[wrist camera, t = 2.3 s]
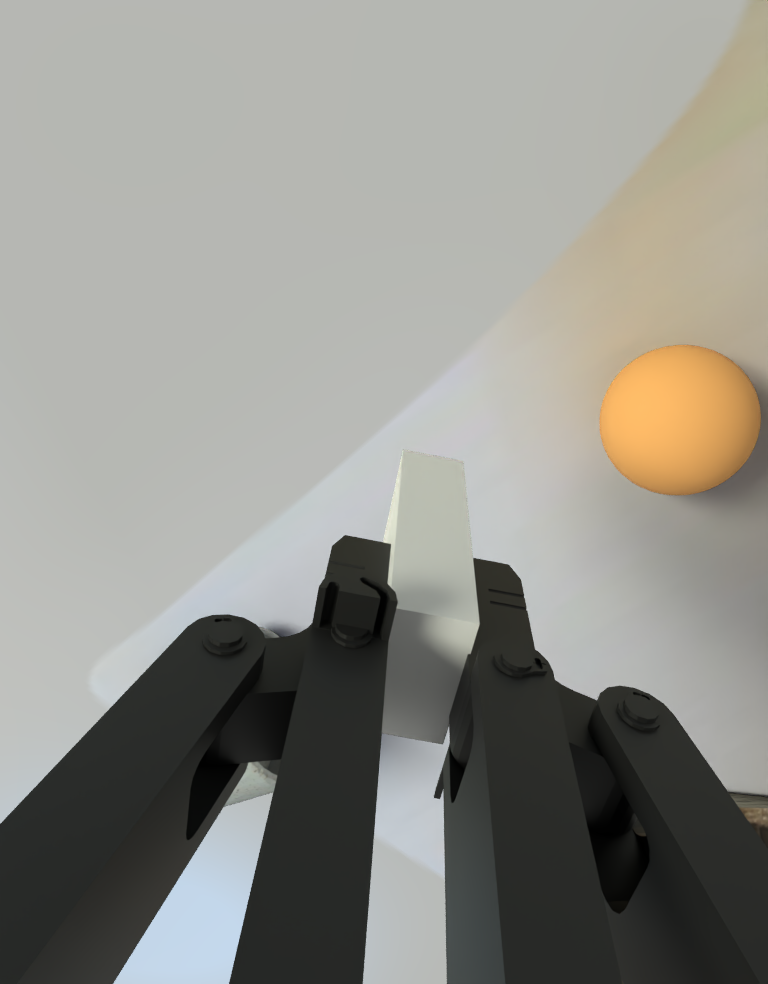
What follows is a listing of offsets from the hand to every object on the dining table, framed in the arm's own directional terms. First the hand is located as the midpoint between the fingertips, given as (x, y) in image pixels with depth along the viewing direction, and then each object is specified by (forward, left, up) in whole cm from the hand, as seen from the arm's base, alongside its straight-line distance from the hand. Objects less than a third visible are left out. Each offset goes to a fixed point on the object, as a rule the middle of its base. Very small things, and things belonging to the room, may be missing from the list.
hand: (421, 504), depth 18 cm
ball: (0, +9, -10) cm, 14 cm away
